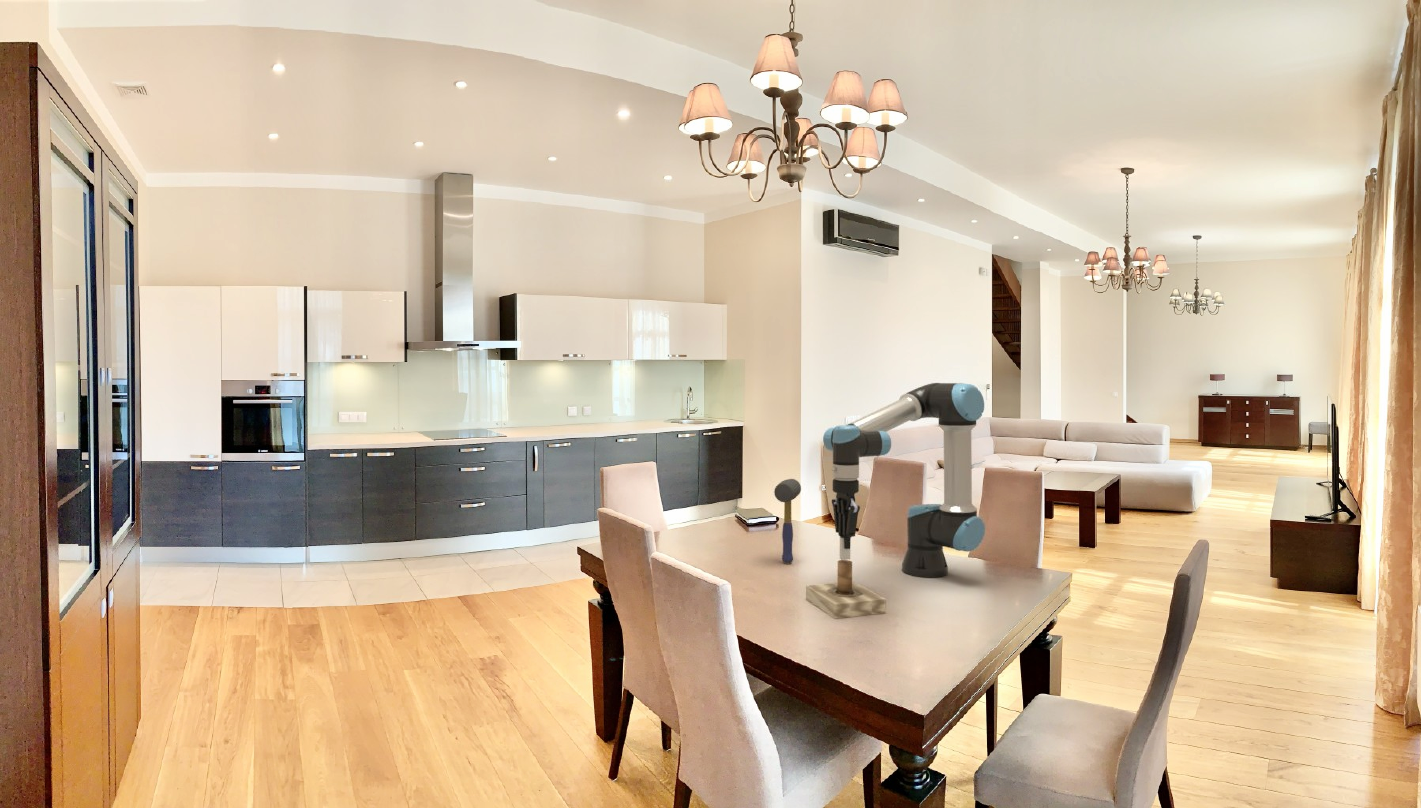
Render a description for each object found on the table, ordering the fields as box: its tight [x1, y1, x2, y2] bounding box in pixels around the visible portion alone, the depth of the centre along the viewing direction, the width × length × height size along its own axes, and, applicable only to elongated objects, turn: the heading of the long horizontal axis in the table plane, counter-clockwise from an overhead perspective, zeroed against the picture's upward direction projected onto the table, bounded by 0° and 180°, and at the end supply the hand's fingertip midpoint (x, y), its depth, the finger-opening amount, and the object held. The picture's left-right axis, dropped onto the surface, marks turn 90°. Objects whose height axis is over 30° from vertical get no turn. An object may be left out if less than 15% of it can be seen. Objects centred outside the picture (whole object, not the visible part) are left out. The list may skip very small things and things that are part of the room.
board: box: [805, 580, 887, 619], centre depth 223 cm, size 16×19×4 cm
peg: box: [836, 559, 853, 595], centre depth 222 cm, size 4×4×13 cm
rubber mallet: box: [773, 478, 802, 565], centre depth 271 cm, size 12×8×30 cm, turn 159°
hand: (844, 558), depth 222 cm, fingers closed
